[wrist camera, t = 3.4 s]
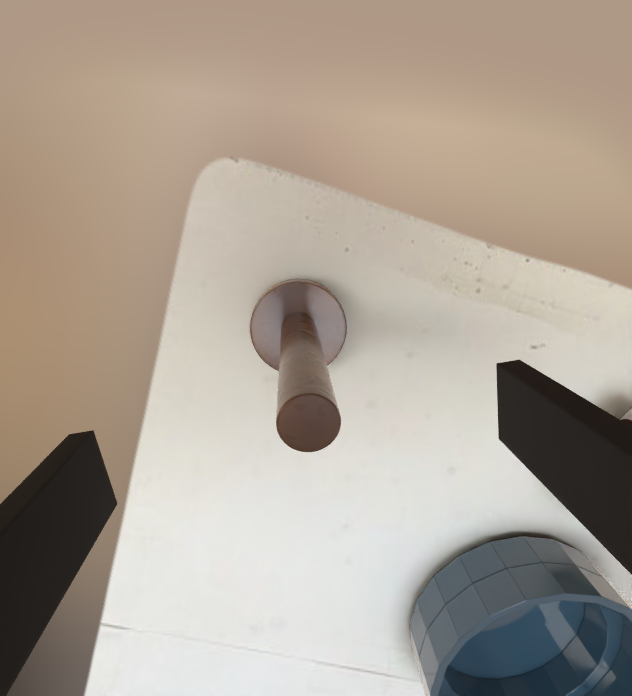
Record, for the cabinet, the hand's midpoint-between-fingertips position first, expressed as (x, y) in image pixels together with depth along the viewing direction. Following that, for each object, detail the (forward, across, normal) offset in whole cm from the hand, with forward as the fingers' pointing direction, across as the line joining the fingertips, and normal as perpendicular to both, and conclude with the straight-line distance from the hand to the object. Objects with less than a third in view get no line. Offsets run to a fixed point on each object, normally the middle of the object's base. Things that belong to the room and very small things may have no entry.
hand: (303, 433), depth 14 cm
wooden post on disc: (+15, 0, 0) cm, 15 cm away
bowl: (+15, +13, -27) cm, 33 cm away
